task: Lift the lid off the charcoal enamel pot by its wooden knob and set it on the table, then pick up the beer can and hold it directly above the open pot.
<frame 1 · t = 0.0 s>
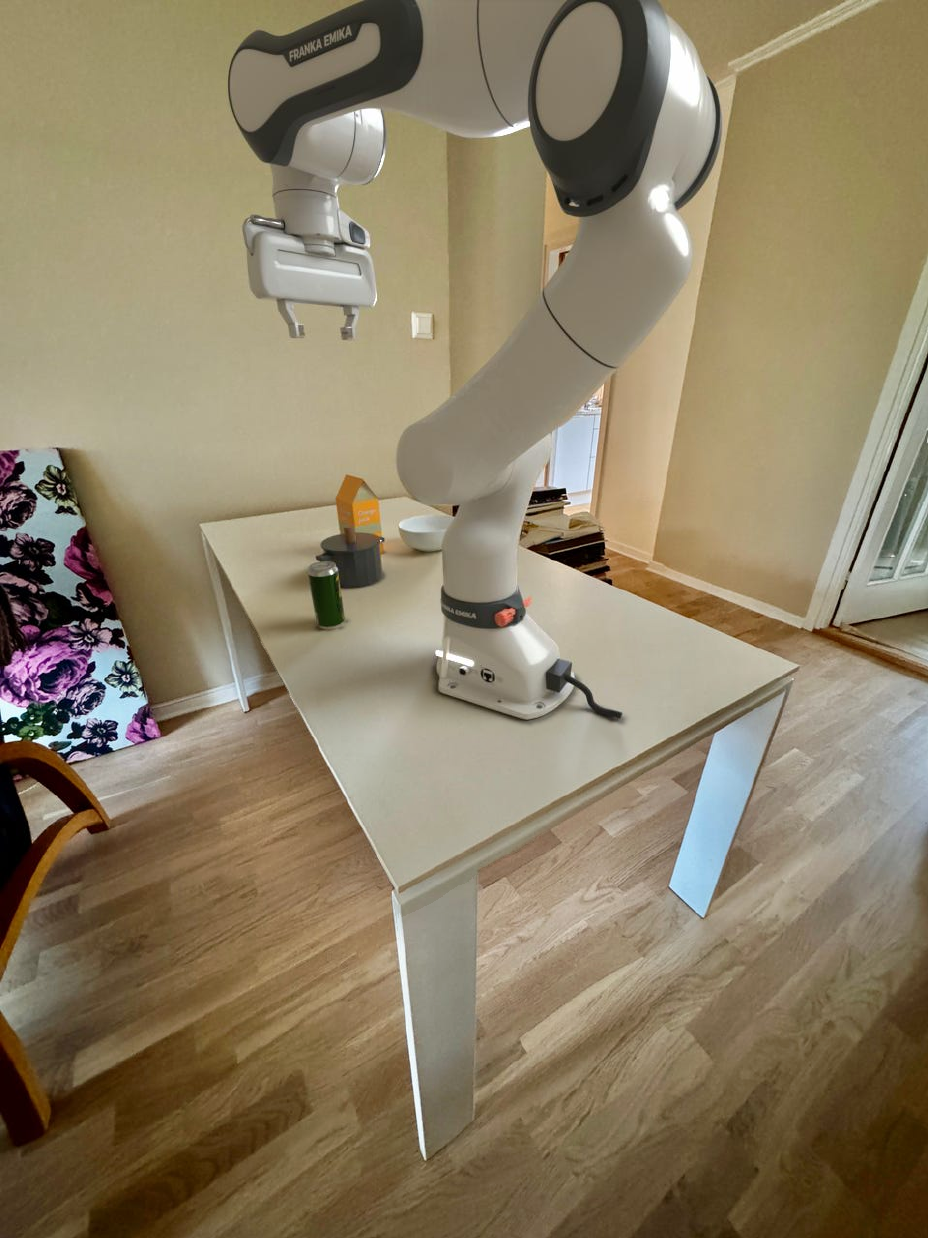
hand: (324, 339, 74), 48 cm above the table, tool pointing down, fingers open, 8 cm apart
pot lid: (351, 543, 110), point 8 cm above the table, touching pot
cereal bowl: (430, 547, 133), on the table
pot: (355, 577, 114), on the table
beer can: (331, 624, 93), on the table
orange juice: (363, 552, 130), on the table
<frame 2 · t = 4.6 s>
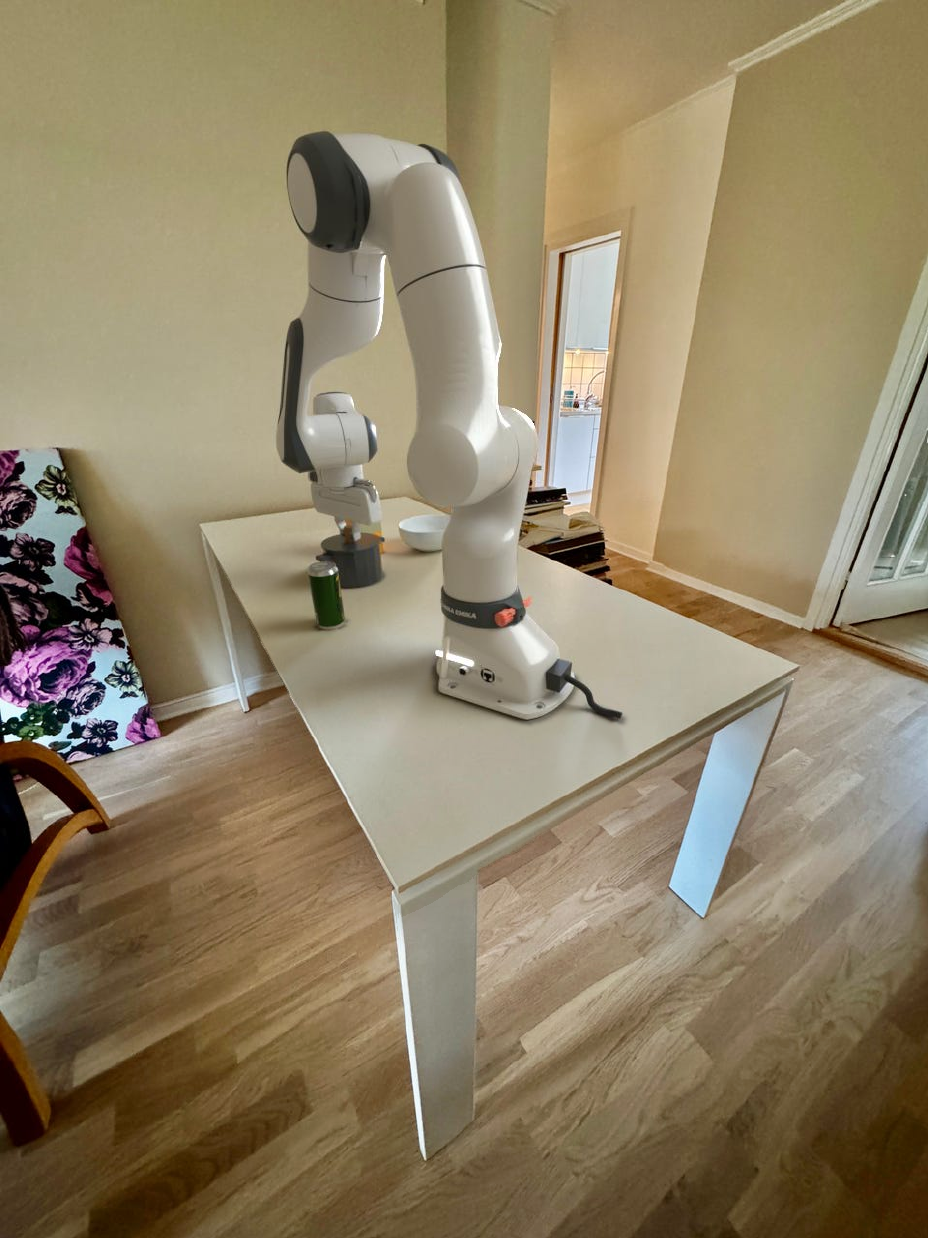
hand: (350, 537, 109), 10 cm above the table, tool pointing down, fingers closed on pot lid, 2 cm apart
pot lid: (351, 543, 110), point 9 cm above the table, touching gripper, pot
everything else where it was.
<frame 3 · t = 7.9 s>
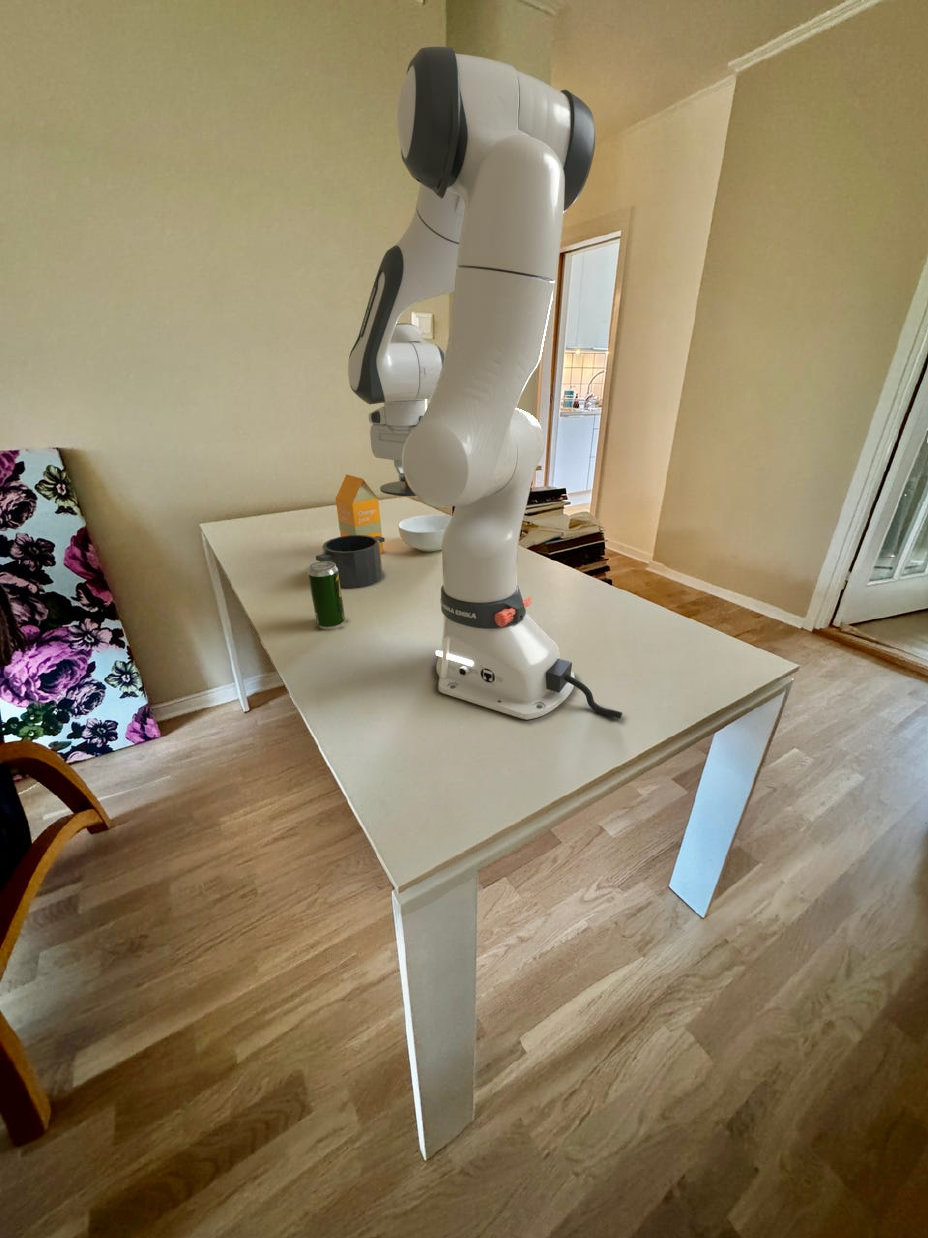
hand: (410, 482, 107), 21 cm above the table, tool pointing down, fingers closed on pot lid, 2 cm apart
pot lid: (410, 488, 108), point 20 cm above the table, touching gripper
everything else where it was.
when the fingers open (2 cm above the table, at t = 11.6 s): pot lid stays where it is, point 1 cm above the table.
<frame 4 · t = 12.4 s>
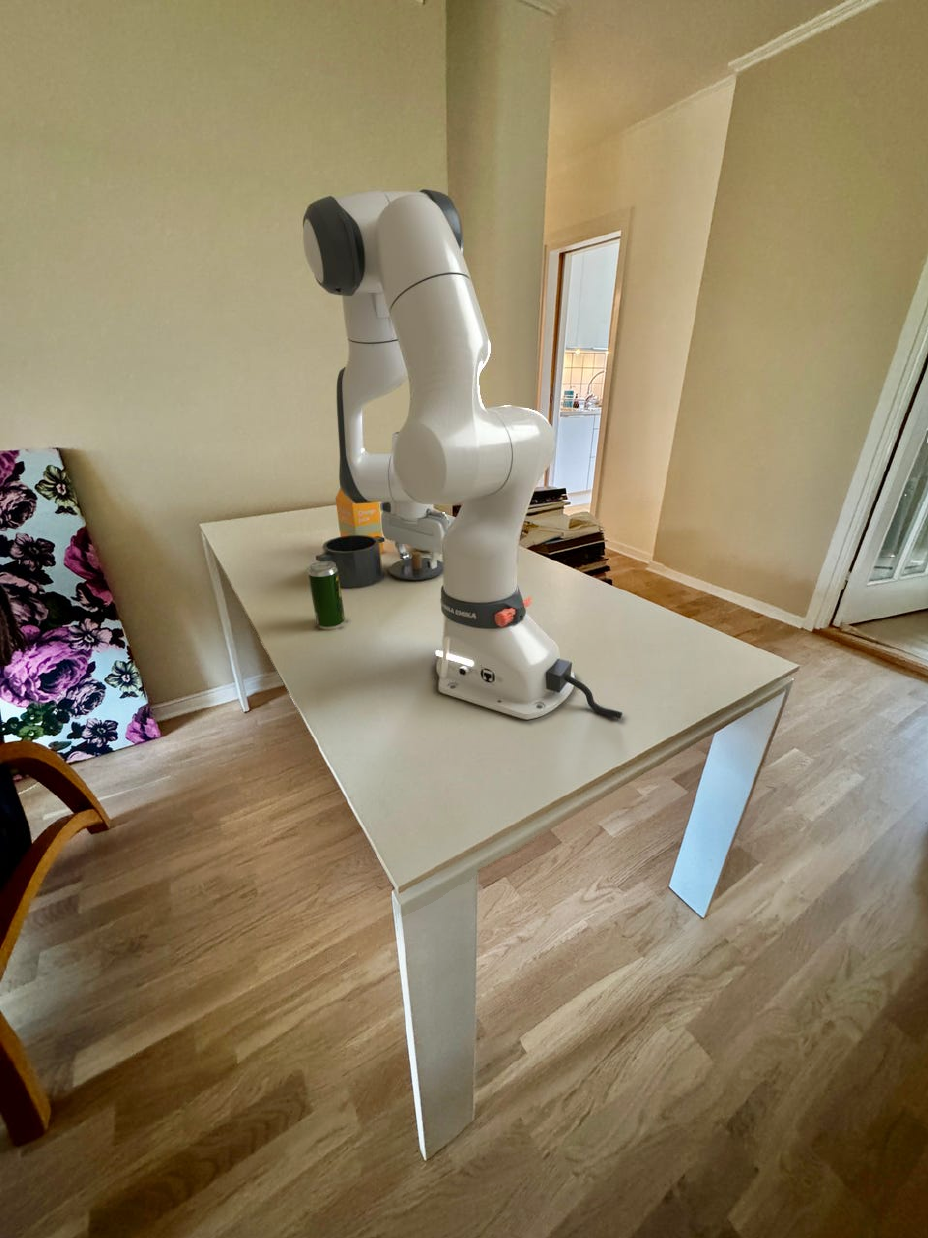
hand: (418, 563, 116), 2 cm above the table, tool pointing down, fingers open, 8 cm apart
pot lid: (417, 569, 117), point 1 cm above the table
everything else where it was.
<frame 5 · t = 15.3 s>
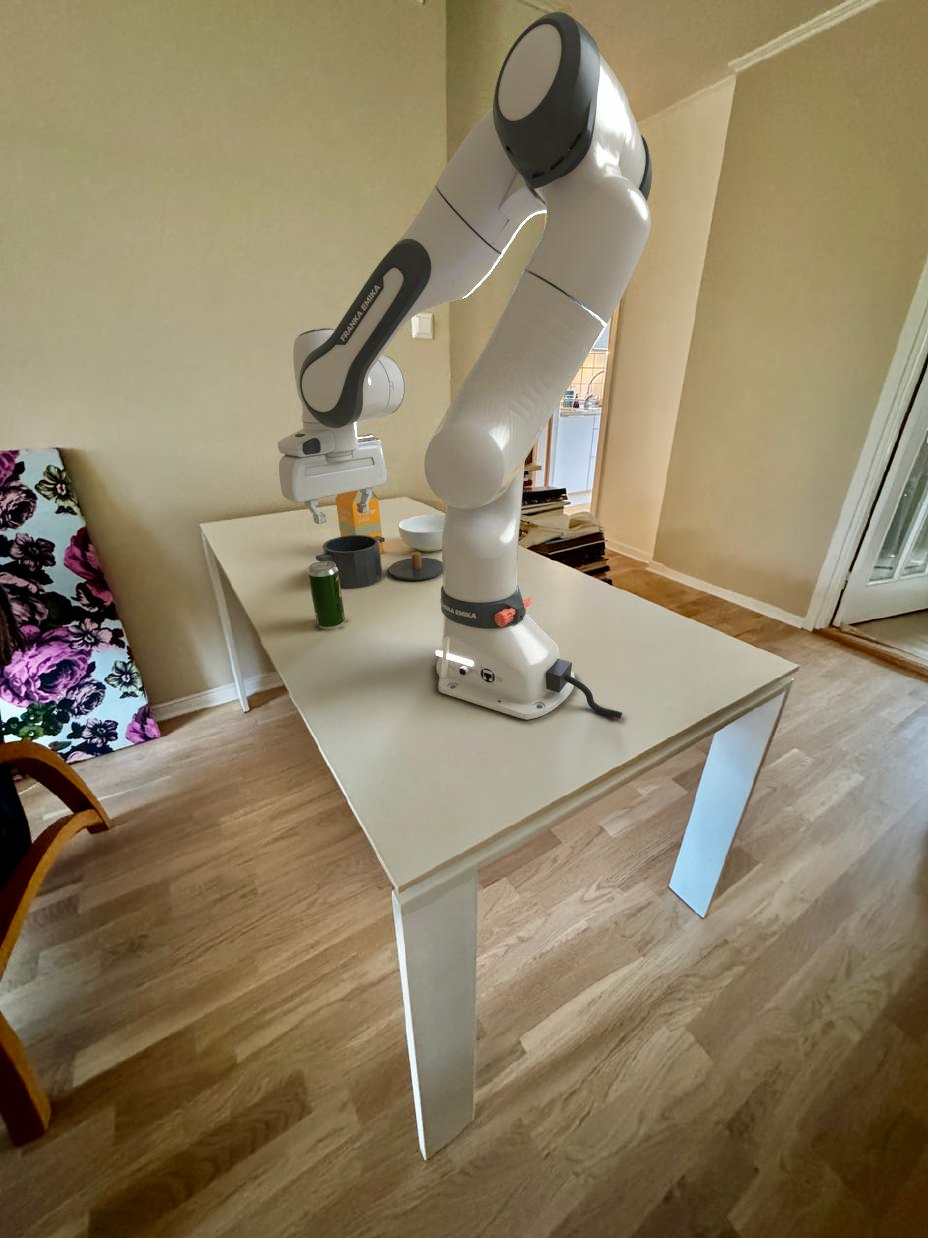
hand: (342, 517, 89), 19 cm above the table, tool pointing down, fingers open, 8 cm apart
nothing on the table moved.
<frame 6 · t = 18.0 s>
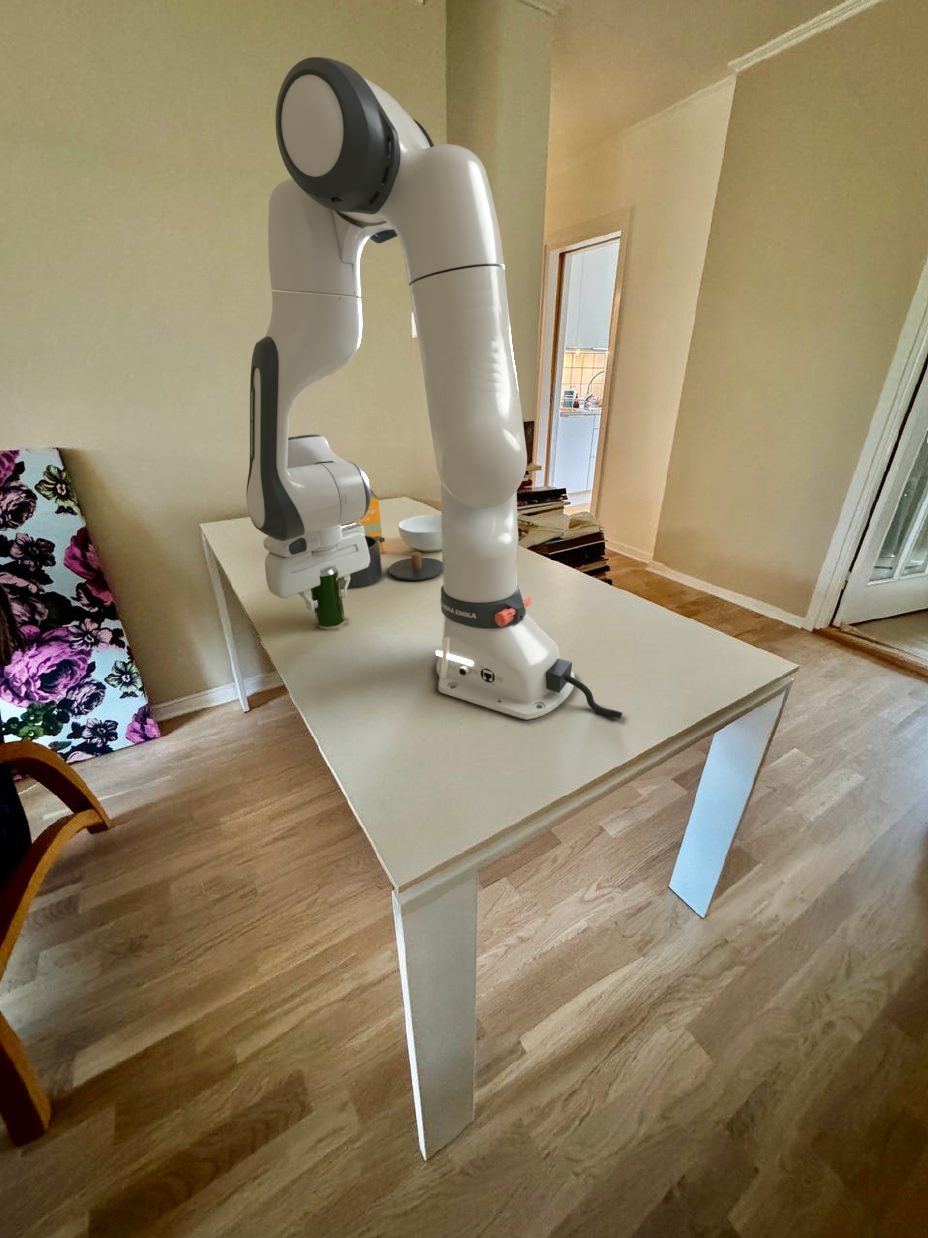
hand: (327, 602, 91), 5 cm above the table, tool pointing down, fingers closed on beer can, 5 cm apart
beer can: (331, 624, 93), on the table, touching gripper
everything else where it was.
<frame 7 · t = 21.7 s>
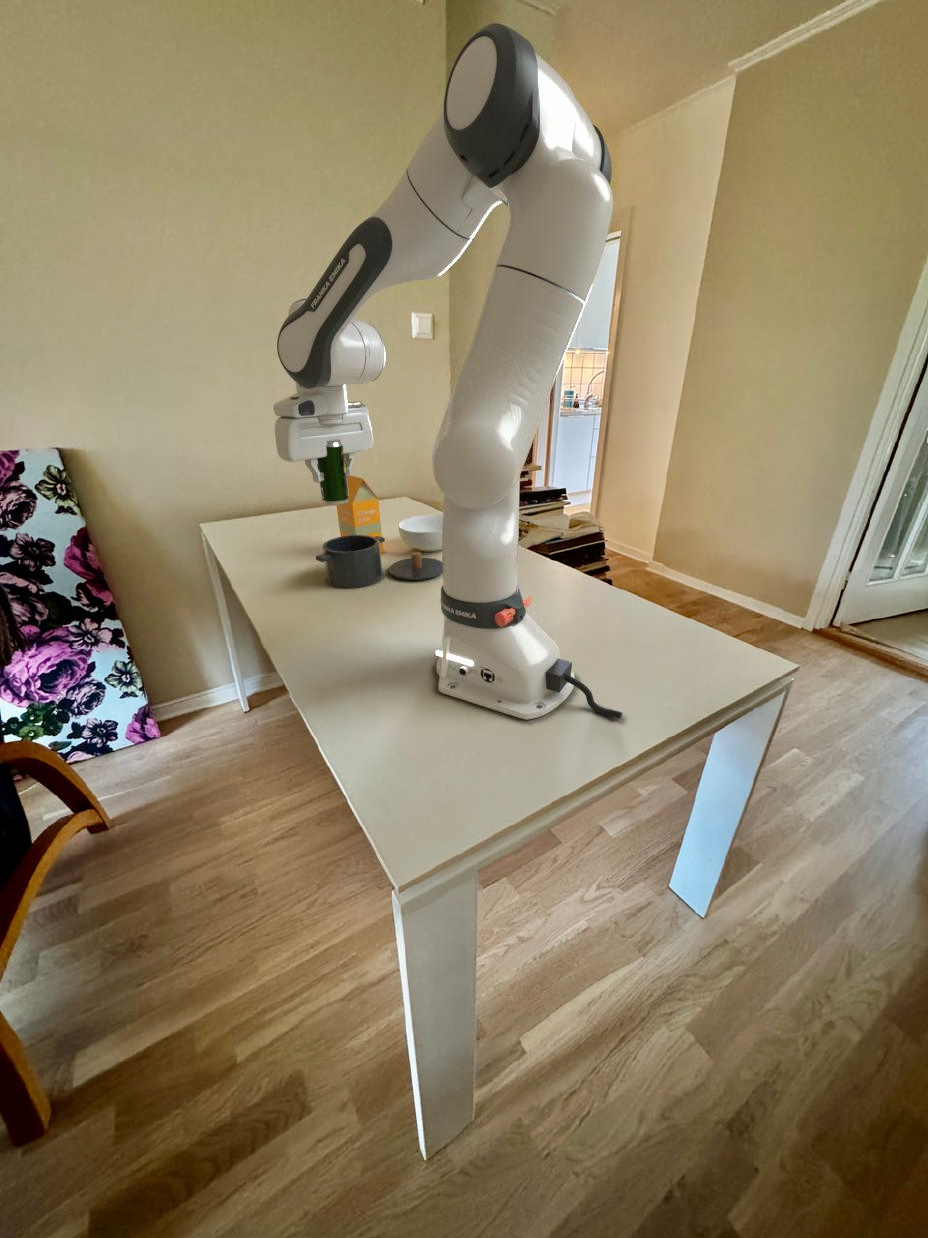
hand: (333, 479, 96), 24 cm above the table, tool pointing down, fingers closed on beer can, 5 cm apart
beer can: (336, 502, 98), point 20 cm above the table, touching gripper
everything else where it was.
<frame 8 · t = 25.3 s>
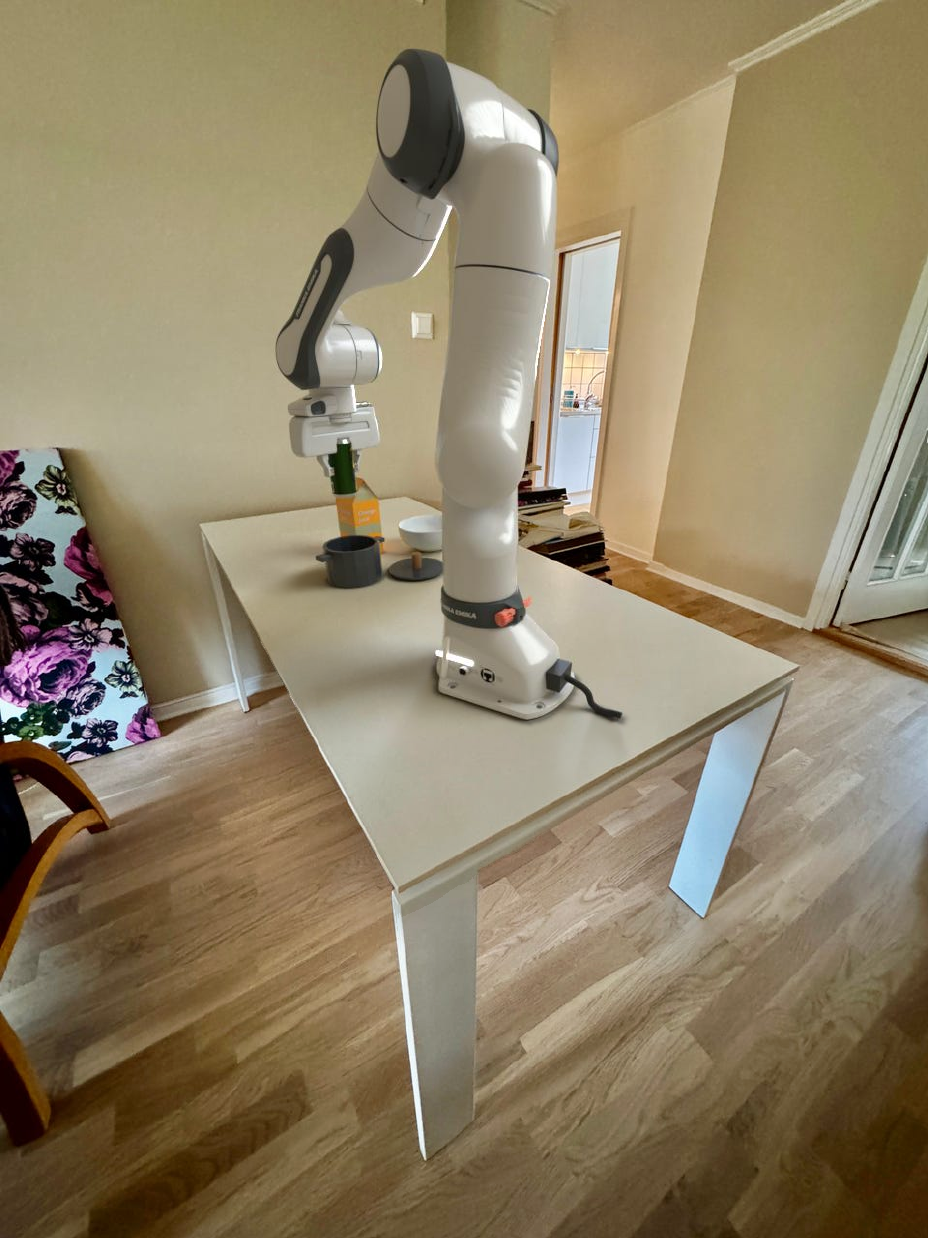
hand: (342, 474, 103), 24 cm above the table, tool pointing down, fingers closed on beer can, 5 cm apart
beer can: (345, 496, 105), point 19 cm above the table, touching gripper
everything else where it was.
at the end: pot lid inside the target area (0.1 cm from its centre), point 0.6 cm above the table; beer can 0.1 cm off-centre on the pot, point 19.2 cm above the pot's base; the gripper is holding beer can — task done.
